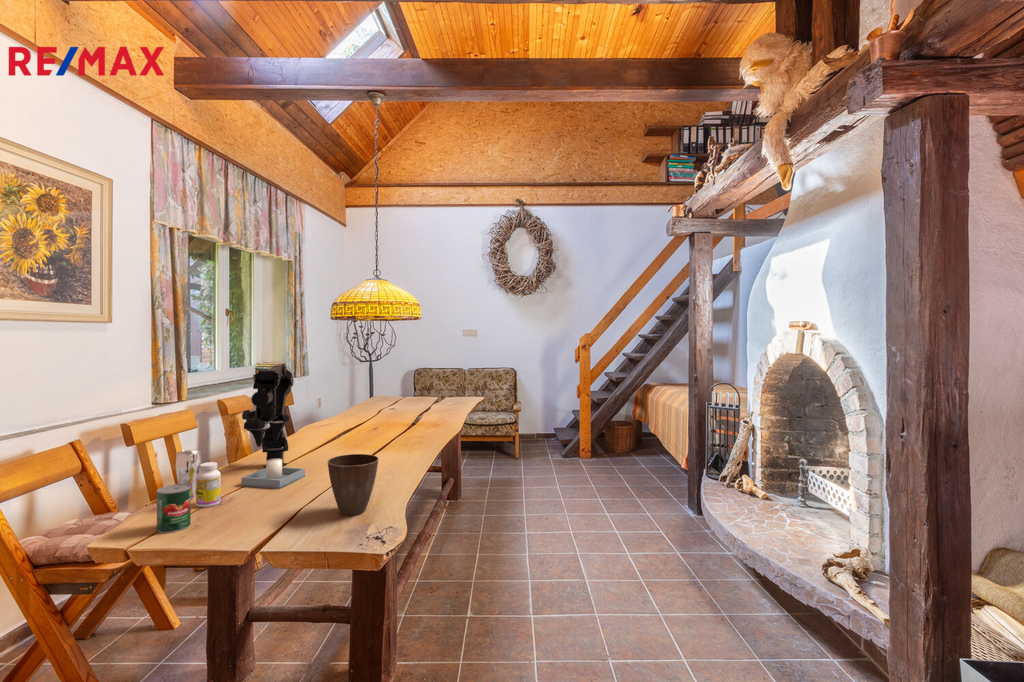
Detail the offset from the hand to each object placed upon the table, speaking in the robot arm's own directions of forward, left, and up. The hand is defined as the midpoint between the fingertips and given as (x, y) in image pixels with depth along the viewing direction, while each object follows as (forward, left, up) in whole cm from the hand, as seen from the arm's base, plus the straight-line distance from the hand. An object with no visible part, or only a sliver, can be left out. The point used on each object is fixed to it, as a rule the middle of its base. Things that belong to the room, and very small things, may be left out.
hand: (267, 443), depth 188 cm
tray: (+6, +7, -12) cm, 15 cm away
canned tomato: (+50, +8, -12) cm, 52 cm away
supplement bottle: (+32, +3, -12) cm, 34 cm away
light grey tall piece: (+28, -8, -12) cm, 32 cm away
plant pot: (+28, +50, -12) cm, 59 cm away
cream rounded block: (+6, +7, -11) cm, 15 cm away
